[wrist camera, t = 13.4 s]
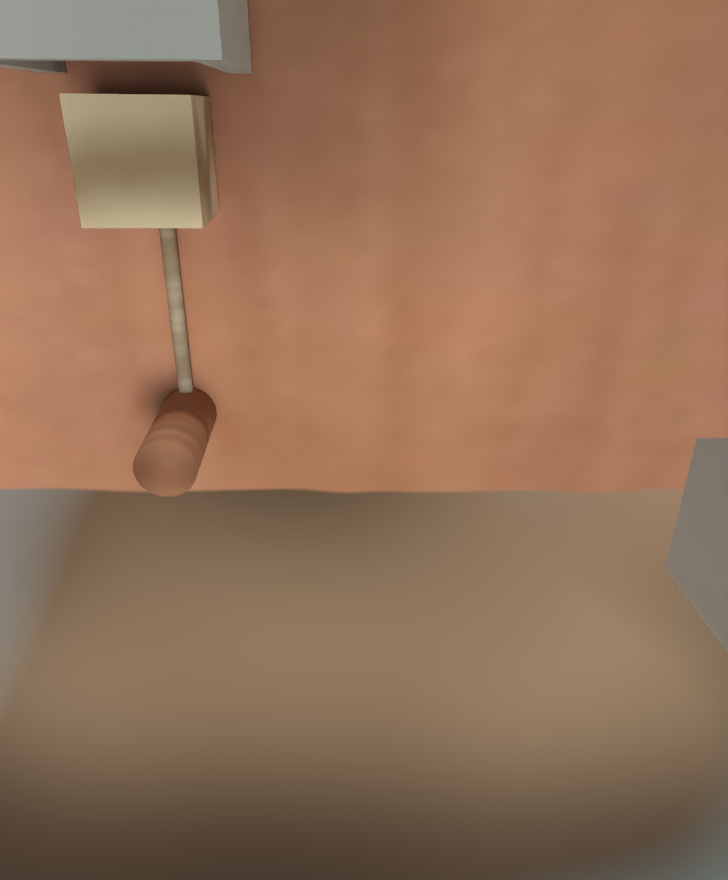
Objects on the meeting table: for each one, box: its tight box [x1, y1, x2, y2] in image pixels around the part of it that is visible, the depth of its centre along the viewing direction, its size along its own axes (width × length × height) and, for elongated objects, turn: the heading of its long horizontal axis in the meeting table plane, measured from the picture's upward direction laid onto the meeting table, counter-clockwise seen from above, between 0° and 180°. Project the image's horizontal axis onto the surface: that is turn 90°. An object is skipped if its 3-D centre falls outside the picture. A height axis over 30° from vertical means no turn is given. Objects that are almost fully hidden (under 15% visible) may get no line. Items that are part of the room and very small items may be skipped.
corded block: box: [59, 93, 219, 497], centre depth 38 cm, size 20×6×8 cm, turn 179°
